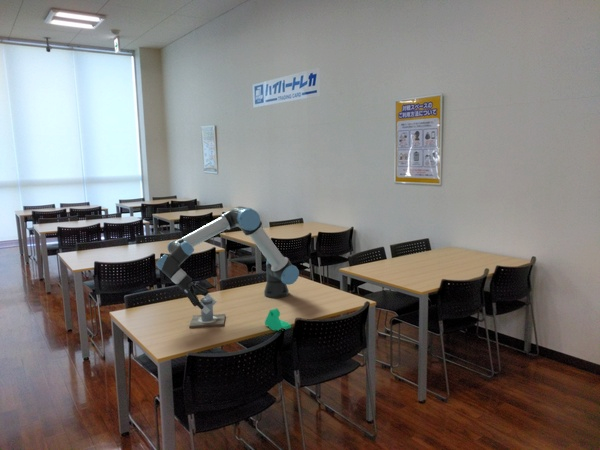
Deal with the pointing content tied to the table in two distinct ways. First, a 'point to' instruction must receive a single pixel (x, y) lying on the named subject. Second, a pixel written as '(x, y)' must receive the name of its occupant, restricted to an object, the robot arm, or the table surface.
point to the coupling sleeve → (209, 304)
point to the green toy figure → (276, 321)
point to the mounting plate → (216, 322)
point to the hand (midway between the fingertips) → (211, 307)
